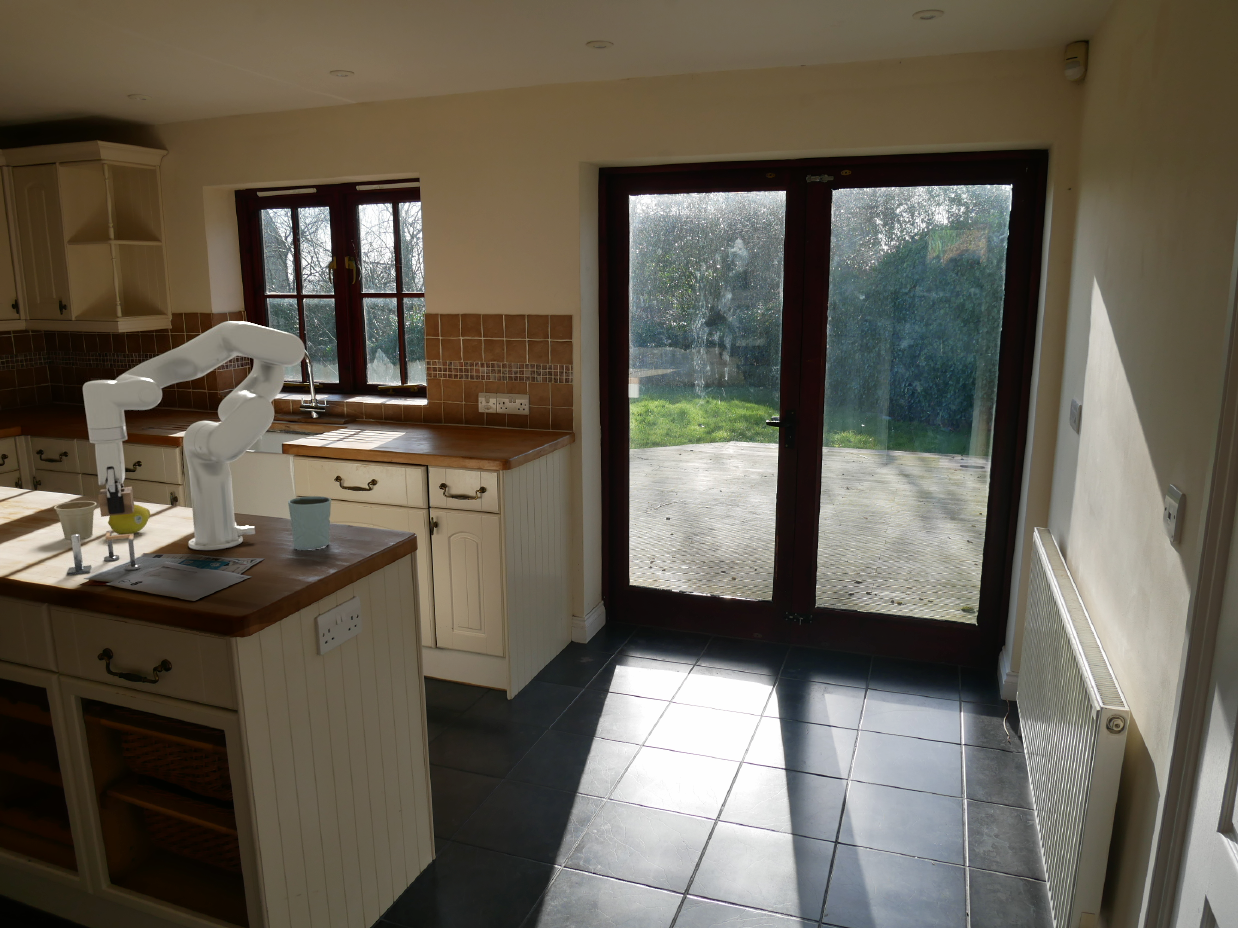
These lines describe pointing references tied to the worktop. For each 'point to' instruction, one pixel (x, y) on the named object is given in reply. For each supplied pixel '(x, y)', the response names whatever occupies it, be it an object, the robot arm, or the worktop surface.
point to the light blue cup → (310, 521)
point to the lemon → (130, 521)
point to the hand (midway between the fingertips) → (118, 509)
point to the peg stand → (77, 558)
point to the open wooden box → (127, 499)
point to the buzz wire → (116, 557)
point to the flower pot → (76, 518)
